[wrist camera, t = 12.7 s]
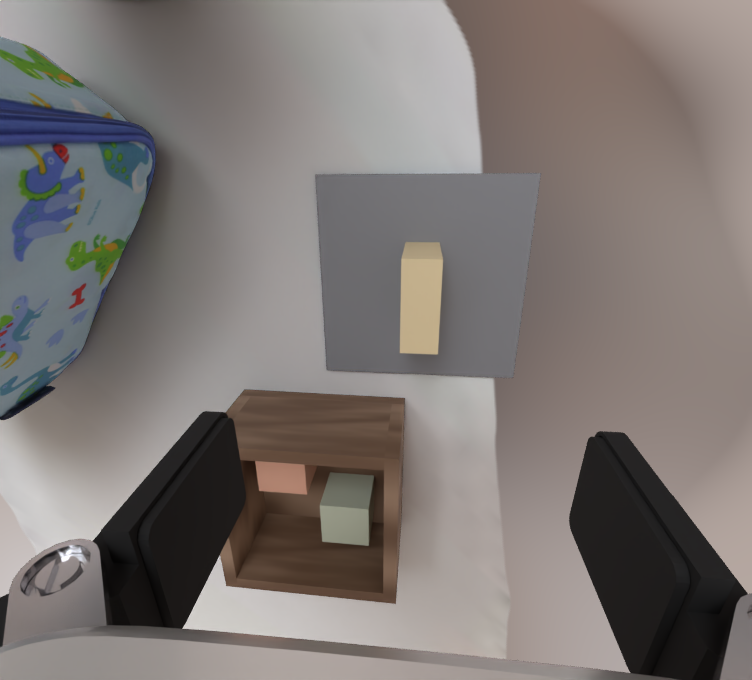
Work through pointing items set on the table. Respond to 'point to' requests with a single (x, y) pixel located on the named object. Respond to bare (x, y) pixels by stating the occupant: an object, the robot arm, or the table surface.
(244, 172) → the table surface
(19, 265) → the lunch box
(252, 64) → the table surface
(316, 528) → the walnut box
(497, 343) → the lid
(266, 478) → the terracotta block
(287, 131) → the table surface
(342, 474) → the sage block
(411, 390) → the table surface
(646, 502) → the robot arm
